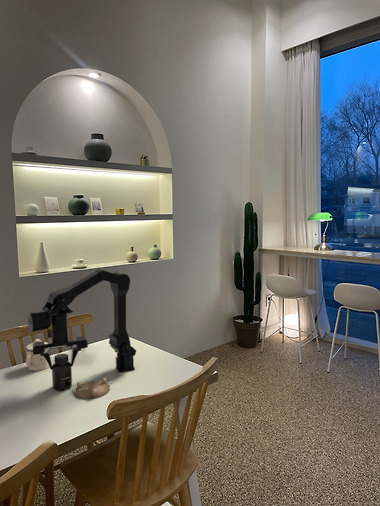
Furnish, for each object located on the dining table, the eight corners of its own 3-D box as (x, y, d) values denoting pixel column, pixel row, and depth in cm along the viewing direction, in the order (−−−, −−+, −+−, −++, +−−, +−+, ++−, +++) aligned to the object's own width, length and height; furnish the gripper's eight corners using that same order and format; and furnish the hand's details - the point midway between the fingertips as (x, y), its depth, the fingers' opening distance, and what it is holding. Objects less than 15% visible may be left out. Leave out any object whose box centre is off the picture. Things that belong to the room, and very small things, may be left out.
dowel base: (106, 381, 149) (106, 374, 149) (112, 395, 138) (112, 388, 138) (74, 386, 145) (73, 379, 145) (77, 401, 134) (76, 394, 134)
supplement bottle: (66, 392, 141) (64, 360, 139) (49, 390, 142) (47, 358, 140) (75, 383, 147) (74, 353, 146) (59, 382, 149) (57, 351, 147)
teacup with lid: (36, 361, 169) (34, 335, 167) (55, 363, 166) (53, 336, 165) (17, 373, 157) (15, 345, 156) (37, 375, 155) (35, 346, 153)
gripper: (83, 317, 153) (85, 356, 154) (32, 323, 146) (34, 363, 148) (87, 325, 142) (88, 366, 144) (31, 332, 136) (34, 375, 138)
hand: (61, 367), depth 144 cm, fingers closed on supplement bottle, 7 cm apart
